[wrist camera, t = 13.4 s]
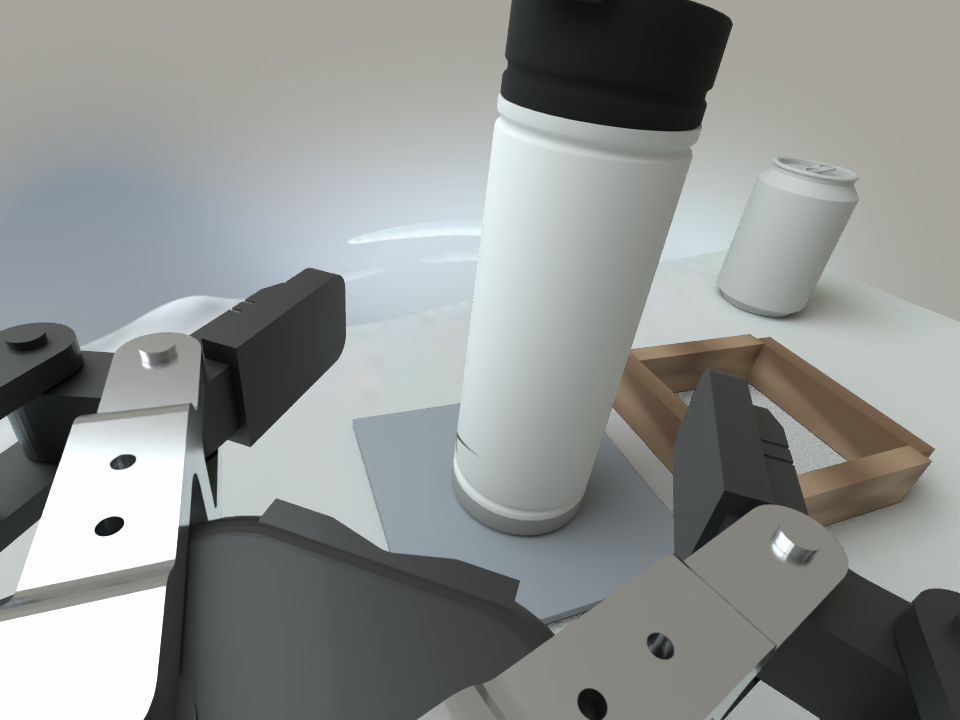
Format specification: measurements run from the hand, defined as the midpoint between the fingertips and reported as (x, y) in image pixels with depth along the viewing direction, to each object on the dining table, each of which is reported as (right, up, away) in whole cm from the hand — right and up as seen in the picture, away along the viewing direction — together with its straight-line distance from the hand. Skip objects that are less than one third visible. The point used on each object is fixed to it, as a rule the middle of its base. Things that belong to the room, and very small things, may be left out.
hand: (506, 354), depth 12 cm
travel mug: (+1, -6, +14) cm, 15 cm away
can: (+24, +5, +37) cm, 45 cm away
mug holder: (+15, -5, +20) cm, 25 cm away
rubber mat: (+1, -7, +14) cm, 16 cm away
